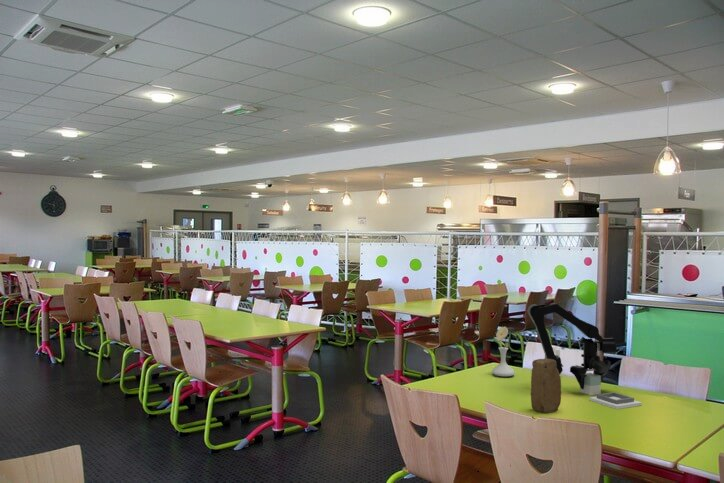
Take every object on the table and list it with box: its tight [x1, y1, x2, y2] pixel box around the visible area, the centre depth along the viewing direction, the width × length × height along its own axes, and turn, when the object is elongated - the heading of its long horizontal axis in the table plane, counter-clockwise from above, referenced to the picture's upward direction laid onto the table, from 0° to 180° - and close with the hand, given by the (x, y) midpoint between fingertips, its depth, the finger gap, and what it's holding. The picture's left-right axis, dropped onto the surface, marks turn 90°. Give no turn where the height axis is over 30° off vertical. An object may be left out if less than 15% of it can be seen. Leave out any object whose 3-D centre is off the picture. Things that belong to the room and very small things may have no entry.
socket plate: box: [588, 391, 643, 410], centre depth 230 cm, size 14×14×3 cm
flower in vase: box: [491, 326, 516, 377], centre depth 277 cm, size 13×11×25 cm
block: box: [530, 357, 562, 414], centre depth 219 cm, size 11×8×20 cm
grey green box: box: [579, 372, 602, 396], centre depth 245 cm, size 6×6×8 cm
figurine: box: [552, 345, 564, 372], centre depth 277 cm, size 7×9×15 cm
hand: (590, 388), depth 245 cm, fingers open, 9 cm apart
